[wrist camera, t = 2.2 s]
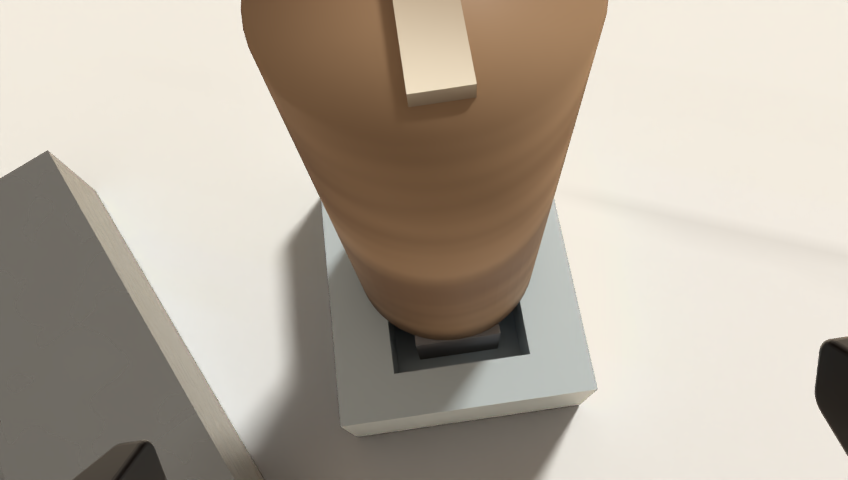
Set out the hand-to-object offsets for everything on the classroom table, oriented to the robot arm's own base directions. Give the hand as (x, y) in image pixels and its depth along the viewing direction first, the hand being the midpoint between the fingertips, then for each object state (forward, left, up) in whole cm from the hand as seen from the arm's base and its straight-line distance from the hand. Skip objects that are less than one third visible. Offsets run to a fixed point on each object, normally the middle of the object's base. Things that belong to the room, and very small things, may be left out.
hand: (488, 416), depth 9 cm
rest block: (+6, +1, -12) cm, 14 cm away
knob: (+6, +1, -11) cm, 13 cm away
